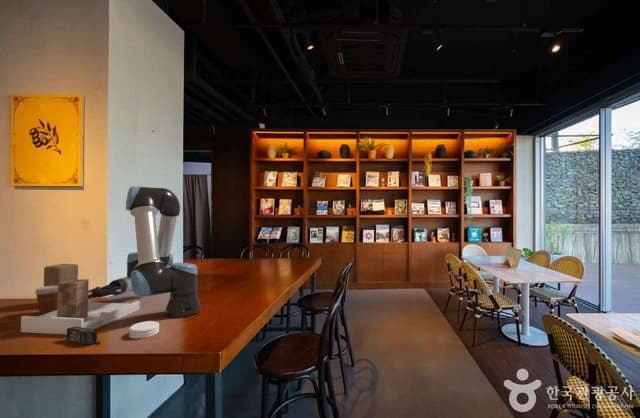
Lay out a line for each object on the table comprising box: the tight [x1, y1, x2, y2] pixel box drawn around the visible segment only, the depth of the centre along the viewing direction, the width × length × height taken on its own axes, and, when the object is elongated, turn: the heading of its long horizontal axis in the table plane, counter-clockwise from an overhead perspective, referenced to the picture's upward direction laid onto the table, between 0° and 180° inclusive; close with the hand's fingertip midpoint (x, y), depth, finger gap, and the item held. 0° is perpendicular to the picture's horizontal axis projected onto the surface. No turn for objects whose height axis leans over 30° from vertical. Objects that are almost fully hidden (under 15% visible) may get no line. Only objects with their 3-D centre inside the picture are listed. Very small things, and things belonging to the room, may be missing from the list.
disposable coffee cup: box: [34, 285, 58, 316], centre depth 136 cm, size 10×10×12 cm
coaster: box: [128, 320, 160, 340], centre depth 113 cm, size 10×10×4 cm
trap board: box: [20, 298, 141, 335], centre depth 128 cm, size 31×26×6 cm
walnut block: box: [57, 278, 89, 319], centre depth 120 cm, size 7×7×16 cm
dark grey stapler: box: [66, 327, 102, 345], centre depth 105 cm, size 5×3×15 cm
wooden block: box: [43, 263, 79, 287], centre depth 150 cm, size 10×10×20 cm
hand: (77, 299), depth 124 cm, fingers closed
